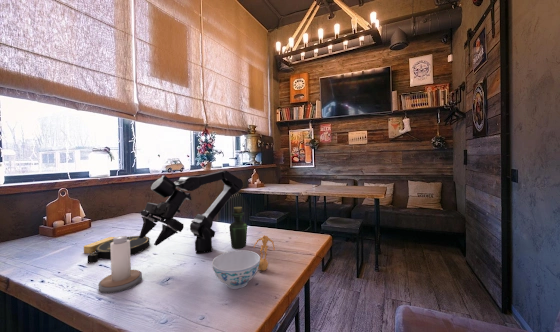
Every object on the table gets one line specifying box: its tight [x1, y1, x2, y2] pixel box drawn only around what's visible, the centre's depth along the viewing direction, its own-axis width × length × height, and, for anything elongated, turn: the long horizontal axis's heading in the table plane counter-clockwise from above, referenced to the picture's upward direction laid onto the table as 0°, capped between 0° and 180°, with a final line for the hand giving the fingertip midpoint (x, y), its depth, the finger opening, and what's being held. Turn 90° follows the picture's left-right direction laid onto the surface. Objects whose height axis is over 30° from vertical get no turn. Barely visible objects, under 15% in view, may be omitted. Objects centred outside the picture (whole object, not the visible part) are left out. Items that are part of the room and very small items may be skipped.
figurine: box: [253, 234, 276, 272], centre depth 83 cm, size 8×6×12 cm
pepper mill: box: [110, 235, 132, 281], centre depth 75 cm, size 5×5×13 cm
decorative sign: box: [83, 234, 151, 264], centre depth 105 cm, size 29×3×25 cm
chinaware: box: [211, 249, 261, 290], centre depth 73 cm, size 15×15×8 cm
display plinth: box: [98, 269, 143, 294], centre depth 75 cm, size 12×12×2 cm
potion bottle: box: [229, 206, 248, 250], centre depth 105 cm, size 8×8×18 cm
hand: (147, 241), depth 83 cm, fingers open, 9 cm apart
